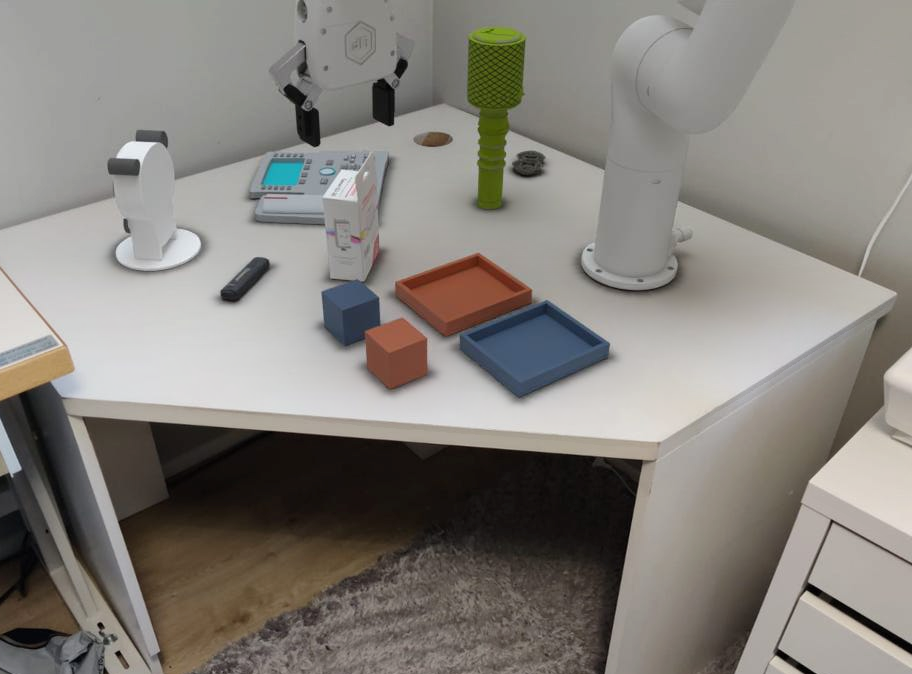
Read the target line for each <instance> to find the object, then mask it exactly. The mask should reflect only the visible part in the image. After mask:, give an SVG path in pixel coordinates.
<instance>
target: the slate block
mask: <svg viewBox="0 0 912 674" xmlns="http://www.w3.org/2000/svg"><path fill="white" fill-rule="evenodd" d="M320 294H321V303H322V316H323V325H324V326H323V327H324V328H325V329H326V330H328V331H329V332H330V333H331V334H332V335H333V336H334V338H336V339H337V340H338V341H339V342H340V343H341V344H342V345H343V346H344V347H346V346H349V345H351V344H353V343H356V342H359V341H362V340H365V331H367V330H370V329H372V328H375V327H378V326H380V325H381V308H380V306H381V305H380V296H378V295H377V294H376V293H375V292H374V291H373V290H371V288H369V287H368V286H366V284H364V283H363V282H362V281H359V280H358V279H356V280H353V281H352V280H349V281H348V282H345V283H342V284H339V285H336V286H333V287H329V288H327V289H324V290H322V291H321V292H320Z"/></svg>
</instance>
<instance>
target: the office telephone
mask: <svg viewBox="0 0 912 674" xmlns="http://www.w3.org/2000/svg"><path fill="white" fill-rule="evenodd" d="M371 152H373V156H374V163H375V170H376V179H377V202H378V208H379V206H380V201H381V195H382V189H383V184H384V178H385V173H386V170H387V168H388V163H389V159H390V157H389V155H390V154H389V153H390V152H389V151H387V150H386V151H385V150H320V151H319V152H286V151H285V152H283V151H282V152H281V151H279V152H278V151H267V152H266V153H265V154H264V156H263V158H262V160H261V162H260V164H259V166H258V169H257V171H256V172H255V175H254V177H253V180H252V182H251V183H250V184H251V185H250V188H249V196H250V198H251V199H259V200H258V202H257V204H256V208H255V210H254V218H255V221H257V222H261V223H262V222H263V223H280V224H281V223H282V224H284V223H285V224H304V225H325V218H324V208H323V200H322V197H323V196H324V194H325V193H326V191H327V190H328V188H329V187H330V186H331V184H332V183H333V181H334V180H335V178H336V177H337V175H338V174H339V172H340V171H341V170H351V171H359V170H360V168H361V166H362V165H363V163H364V162H365V160H366V159H367V157H368V156H369V154H370V153H371ZM365 172H368V169H367V170H365Z"/></svg>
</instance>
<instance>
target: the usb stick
mask: <svg viewBox="0 0 912 674" xmlns="http://www.w3.org/2000/svg"><path fill="white" fill-rule="evenodd" d="M270 265H271V264H270V260H269V259H268V258H266V257H263V256H255V257H253V258H252V259H251V260H250V261H249V262H248V263H247V264H246V265H245V266H244V267H243V268H242V269H241V270H240V271H239V272H238V273H237V274H236V275H235V276H234V277H233V278H232V279H231V280H229V282H228V283H227V284H226V285H225V286H224V287H223V288H222V289H221V290H220V297H221V298H222V299H224V300H230V301H236V300H237V299H239V298H240V297H241V296H242V294H244V292H246V291H247V290H248V288H250V286H252V284H254V283H255V281H257V280H258V279H259V277H260V276H262V274H263V273H264V272H265V271H267V270H268V268H269V267H270Z"/></svg>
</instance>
